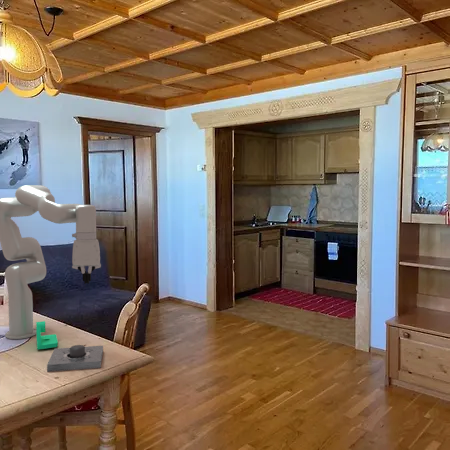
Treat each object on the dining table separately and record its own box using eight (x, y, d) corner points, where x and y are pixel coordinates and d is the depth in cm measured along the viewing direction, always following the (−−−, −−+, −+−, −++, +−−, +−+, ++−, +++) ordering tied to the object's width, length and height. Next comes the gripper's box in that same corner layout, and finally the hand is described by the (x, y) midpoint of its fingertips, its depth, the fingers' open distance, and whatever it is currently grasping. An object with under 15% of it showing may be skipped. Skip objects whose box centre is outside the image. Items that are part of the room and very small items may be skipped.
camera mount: (58, 349, 177) (57, 324, 176) (37, 352, 173) (36, 326, 173) (56, 340, 188) (55, 316, 187) (36, 342, 184) (35, 318, 184)
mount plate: (54, 354, 170) (54, 348, 170) (103, 351, 174) (103, 345, 174) (47, 371, 155) (47, 364, 155) (100, 367, 159) (100, 361, 158)
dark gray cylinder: (70, 358, 167) (69, 345, 166) (85, 357, 168) (84, 344, 168) (69, 364, 162) (69, 350, 161) (84, 362, 163) (84, 349, 163)
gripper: (64, 237, 167) (65, 285, 168) (105, 237, 170) (106, 284, 171) (67, 235, 174) (68, 281, 176) (106, 235, 177) (107, 280, 179)
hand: (86, 282), depth 174 cm, fingers closed
